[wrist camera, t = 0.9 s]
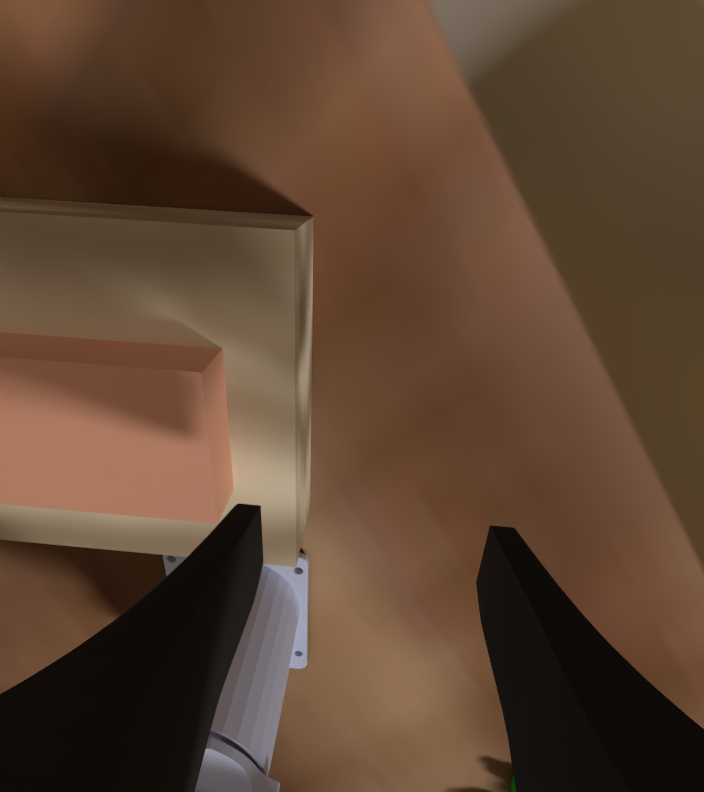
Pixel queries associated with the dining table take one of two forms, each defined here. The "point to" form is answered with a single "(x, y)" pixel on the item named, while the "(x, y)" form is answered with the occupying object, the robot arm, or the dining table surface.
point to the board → (177, 342)
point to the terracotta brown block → (114, 427)
